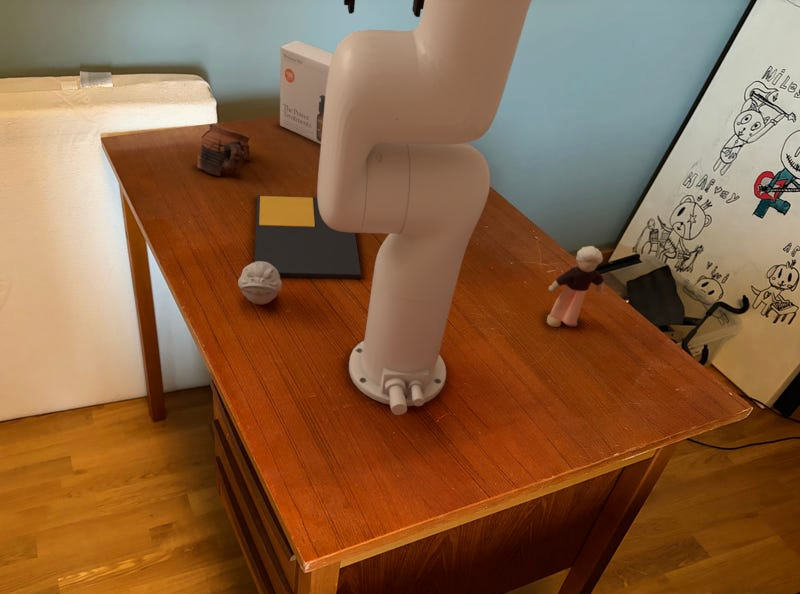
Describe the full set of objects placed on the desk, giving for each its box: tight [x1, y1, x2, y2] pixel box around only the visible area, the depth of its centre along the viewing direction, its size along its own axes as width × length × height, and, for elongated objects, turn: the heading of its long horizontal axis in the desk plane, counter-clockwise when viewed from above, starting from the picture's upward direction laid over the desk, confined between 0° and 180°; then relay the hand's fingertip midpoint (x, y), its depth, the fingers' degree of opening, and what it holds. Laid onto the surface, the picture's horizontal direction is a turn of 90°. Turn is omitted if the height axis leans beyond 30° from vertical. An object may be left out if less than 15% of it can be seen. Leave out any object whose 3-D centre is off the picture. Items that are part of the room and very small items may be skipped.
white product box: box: [279, 40, 334, 145], centre depth 131 cm, size 21×5×16 cm, turn 50°
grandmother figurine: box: [546, 245, 605, 328], centre depth 96 cm, size 8×4×13 cm, turn 105°
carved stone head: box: [237, 261, 283, 306], centre depth 97 cm, size 6×7×7 cm
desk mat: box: [254, 195, 362, 280], centre depth 111 cm, size 22×16×1 cm
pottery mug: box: [196, 123, 251, 177], centre depth 125 cm, size 12×10×8 cm
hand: (383, 12), depth 101 cm, fingers open, 9 cm apart
